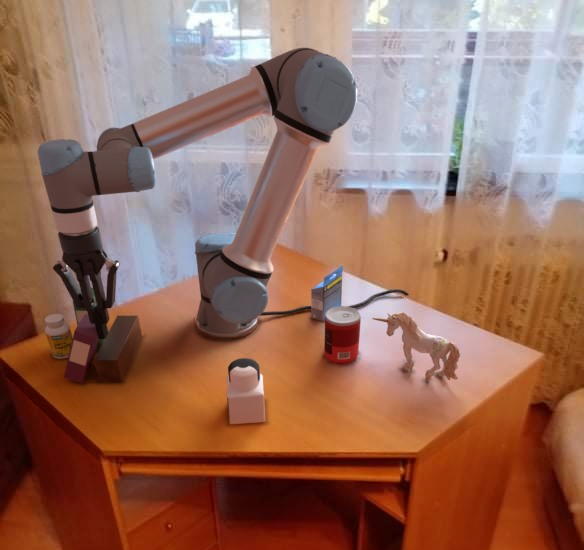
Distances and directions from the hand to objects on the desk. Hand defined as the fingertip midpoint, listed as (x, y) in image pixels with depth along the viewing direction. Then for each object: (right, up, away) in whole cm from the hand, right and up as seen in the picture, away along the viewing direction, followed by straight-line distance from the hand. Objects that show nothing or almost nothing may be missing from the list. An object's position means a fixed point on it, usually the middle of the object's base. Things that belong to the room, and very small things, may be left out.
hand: (103, 335), depth 126 cm
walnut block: (+1, -4, +11) cm, 12 cm away
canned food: (+51, -4, +11) cm, 53 cm away
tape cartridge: (+49, +8, +27) cm, 57 cm away
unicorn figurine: (+66, -9, +5) cm, 67 cm away
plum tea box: (-8, -7, +6) cm, 12 cm away
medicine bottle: (+31, -16, -5) cm, 35 cm away
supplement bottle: (-13, -3, +14) cm, 19 cm away
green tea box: (-7, 0, +17) cm, 18 cm away
